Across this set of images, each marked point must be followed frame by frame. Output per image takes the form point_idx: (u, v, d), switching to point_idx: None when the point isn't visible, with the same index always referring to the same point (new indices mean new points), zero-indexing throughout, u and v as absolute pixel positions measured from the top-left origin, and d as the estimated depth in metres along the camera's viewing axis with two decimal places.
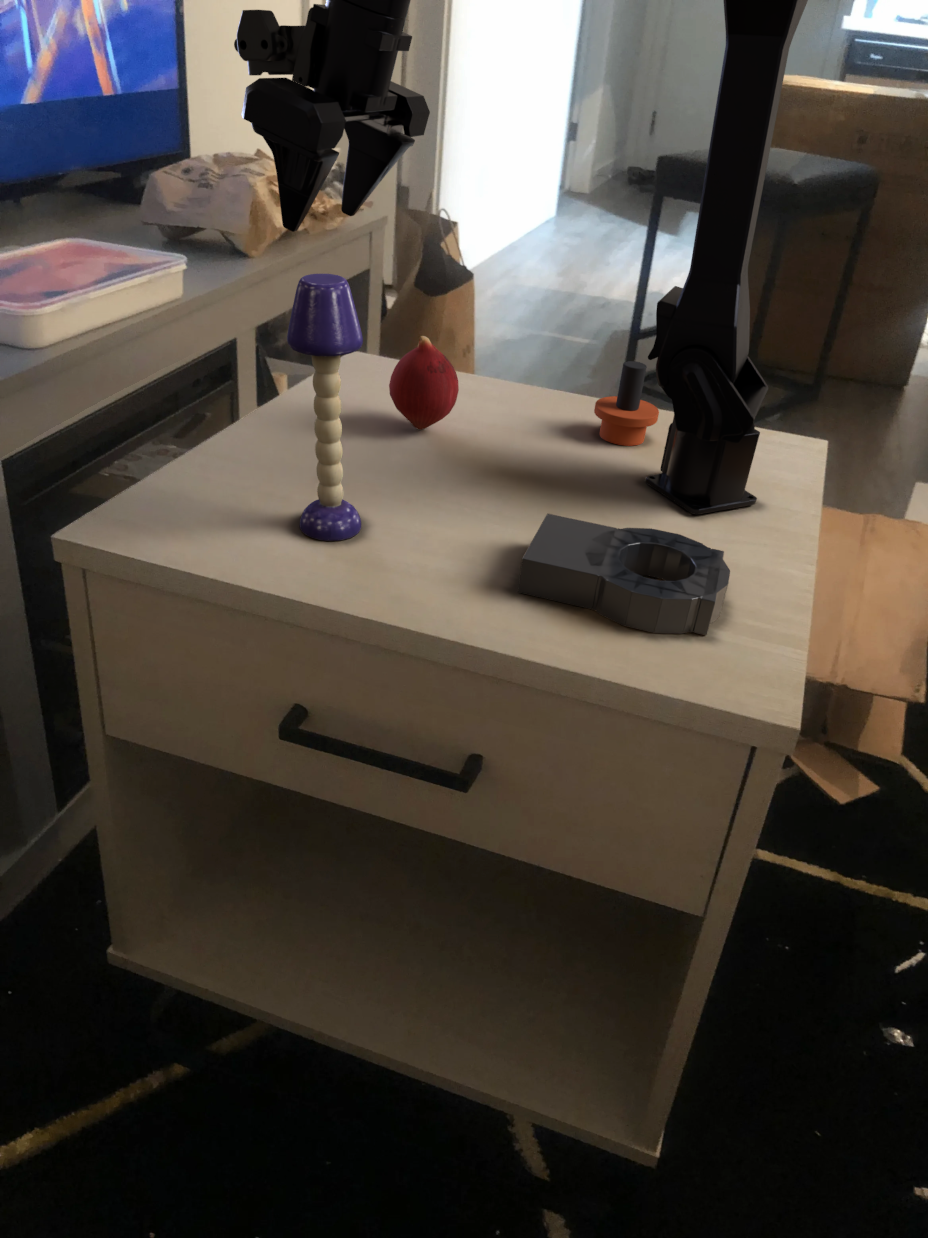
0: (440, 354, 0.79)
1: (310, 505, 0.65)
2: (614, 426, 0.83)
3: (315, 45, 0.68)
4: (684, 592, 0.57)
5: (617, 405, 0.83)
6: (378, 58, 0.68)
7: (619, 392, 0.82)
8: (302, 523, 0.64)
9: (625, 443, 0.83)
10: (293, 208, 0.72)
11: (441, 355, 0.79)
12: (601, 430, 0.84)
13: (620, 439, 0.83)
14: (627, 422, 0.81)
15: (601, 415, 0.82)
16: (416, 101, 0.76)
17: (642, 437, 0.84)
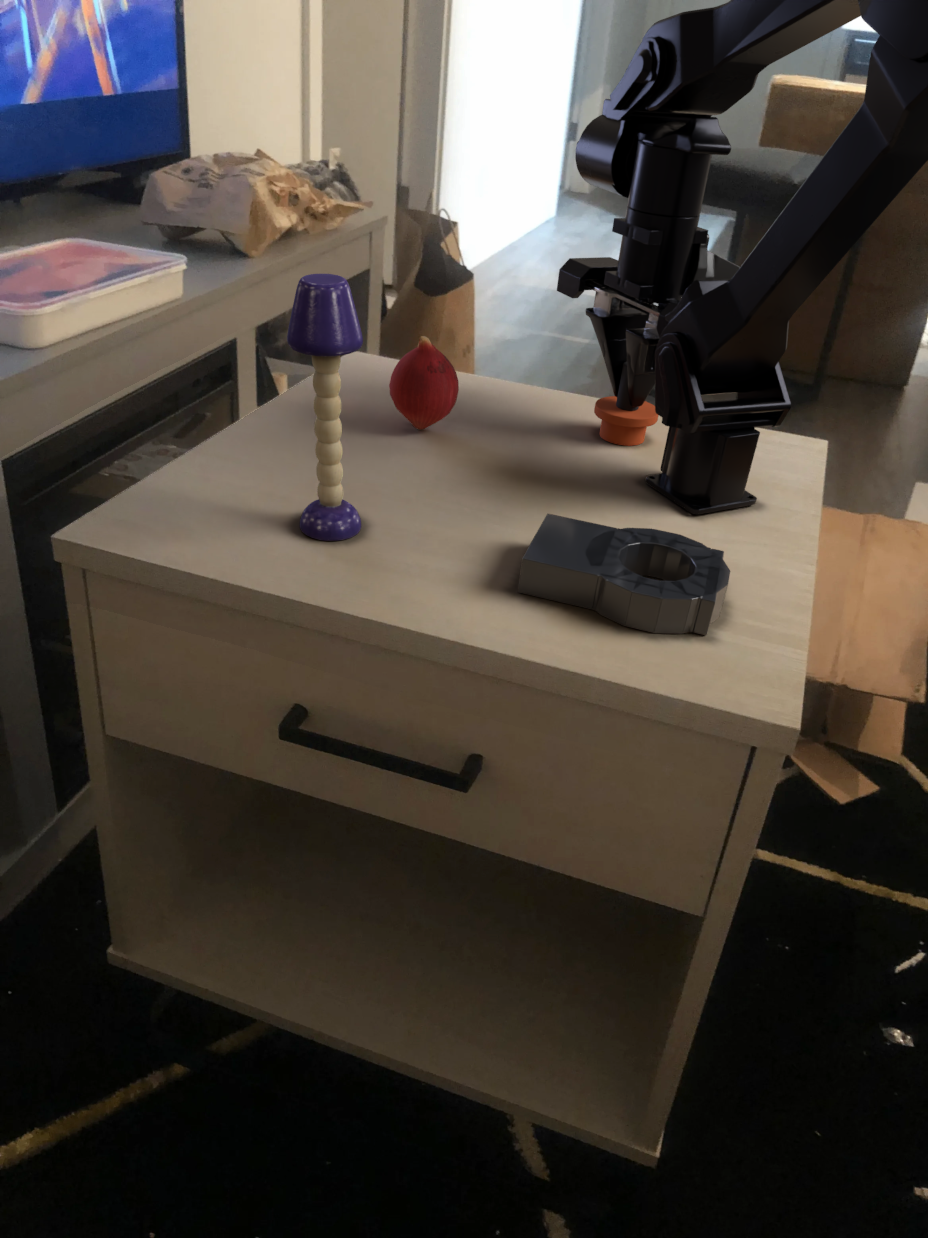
0: (440, 354, 0.79)
1: (310, 505, 0.65)
2: (614, 426, 0.83)
3: None
4: (684, 592, 0.57)
5: (617, 405, 0.83)
6: (621, 242, 0.76)
7: (619, 392, 0.82)
8: (302, 523, 0.64)
9: (625, 442, 0.83)
10: None
11: (441, 355, 0.79)
12: (601, 430, 0.84)
13: (620, 439, 0.83)
14: (627, 422, 0.81)
15: (601, 415, 0.82)
16: None
17: (642, 437, 0.84)
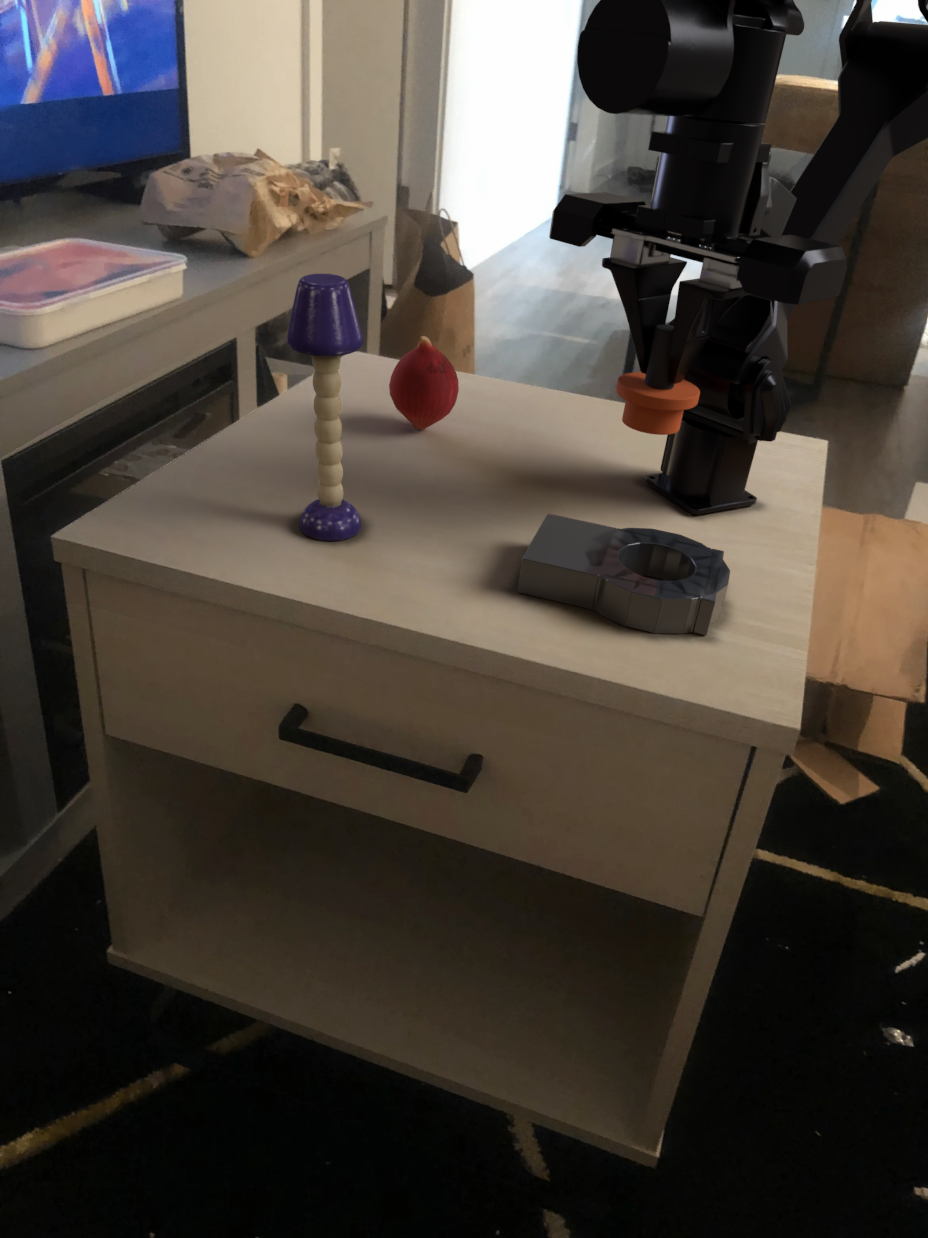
0: (440, 354, 0.79)
1: (310, 505, 0.65)
2: (651, 412, 0.63)
3: None
4: (684, 592, 0.57)
5: (648, 383, 0.64)
6: (663, 164, 0.57)
7: (651, 366, 0.63)
8: (302, 523, 0.64)
9: (664, 431, 0.64)
10: None
11: (441, 355, 0.79)
12: (628, 418, 0.65)
13: (658, 427, 0.64)
14: (672, 405, 0.62)
15: (635, 398, 0.63)
16: (774, 250, 0.53)
17: (680, 422, 0.65)
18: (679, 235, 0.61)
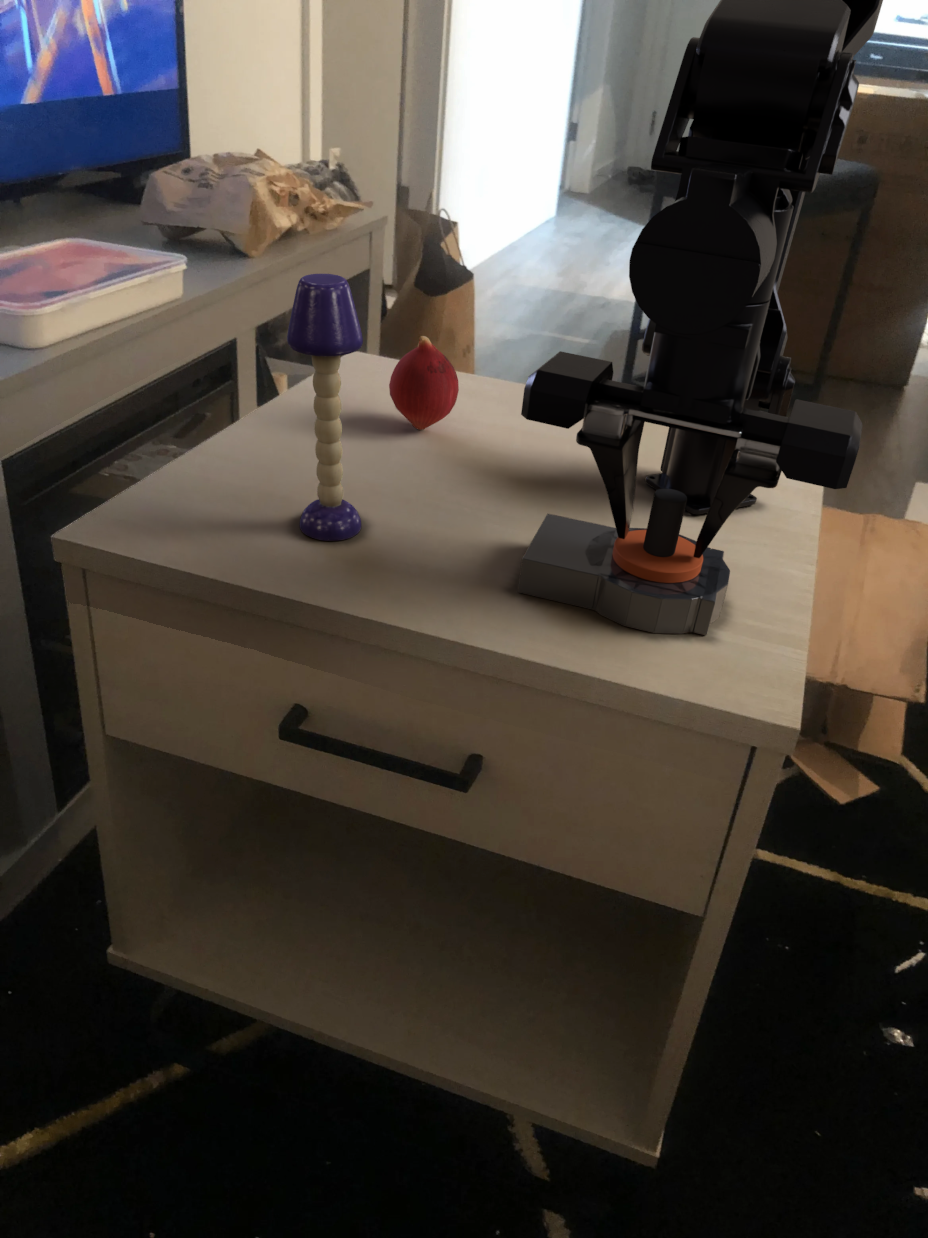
0: (440, 354, 0.79)
1: (310, 505, 0.65)
2: None
3: None
4: (684, 592, 0.57)
5: (653, 553, 0.59)
6: (671, 345, 0.51)
7: (655, 536, 0.58)
8: (302, 523, 0.64)
9: None
10: None
11: (441, 355, 0.79)
12: None
13: None
14: (688, 576, 0.58)
15: (650, 576, 0.58)
16: (815, 435, 0.50)
17: None
18: None
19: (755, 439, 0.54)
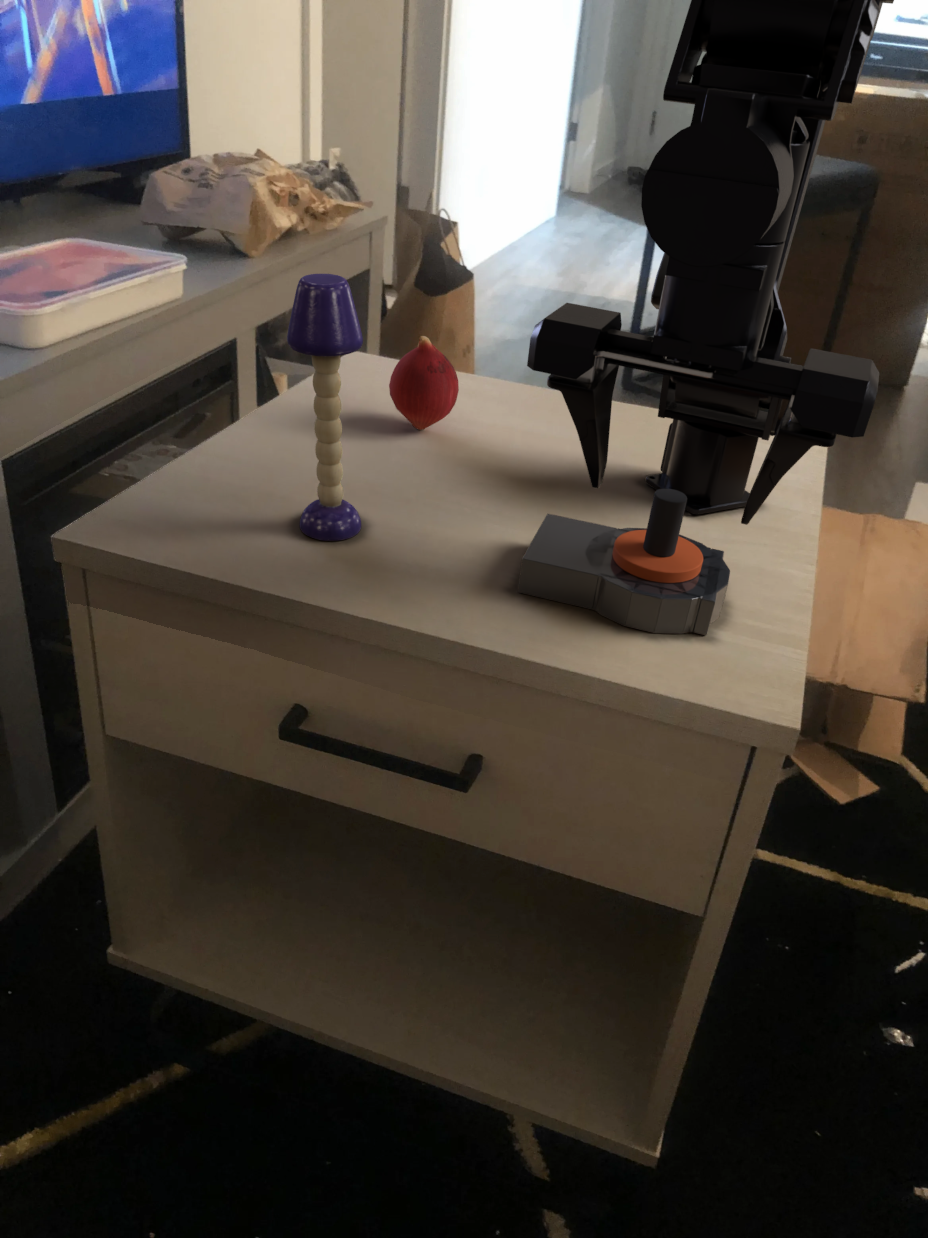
0: (440, 354, 0.79)
1: (310, 505, 0.65)
2: None
3: None
4: (684, 592, 0.57)
5: (653, 553, 0.59)
6: (683, 289, 0.49)
7: (655, 536, 0.58)
8: (302, 523, 0.64)
9: None
10: None
11: (441, 355, 0.79)
12: None
13: None
14: (688, 576, 0.58)
15: (650, 576, 0.58)
16: (832, 381, 0.49)
17: None
18: None
19: None
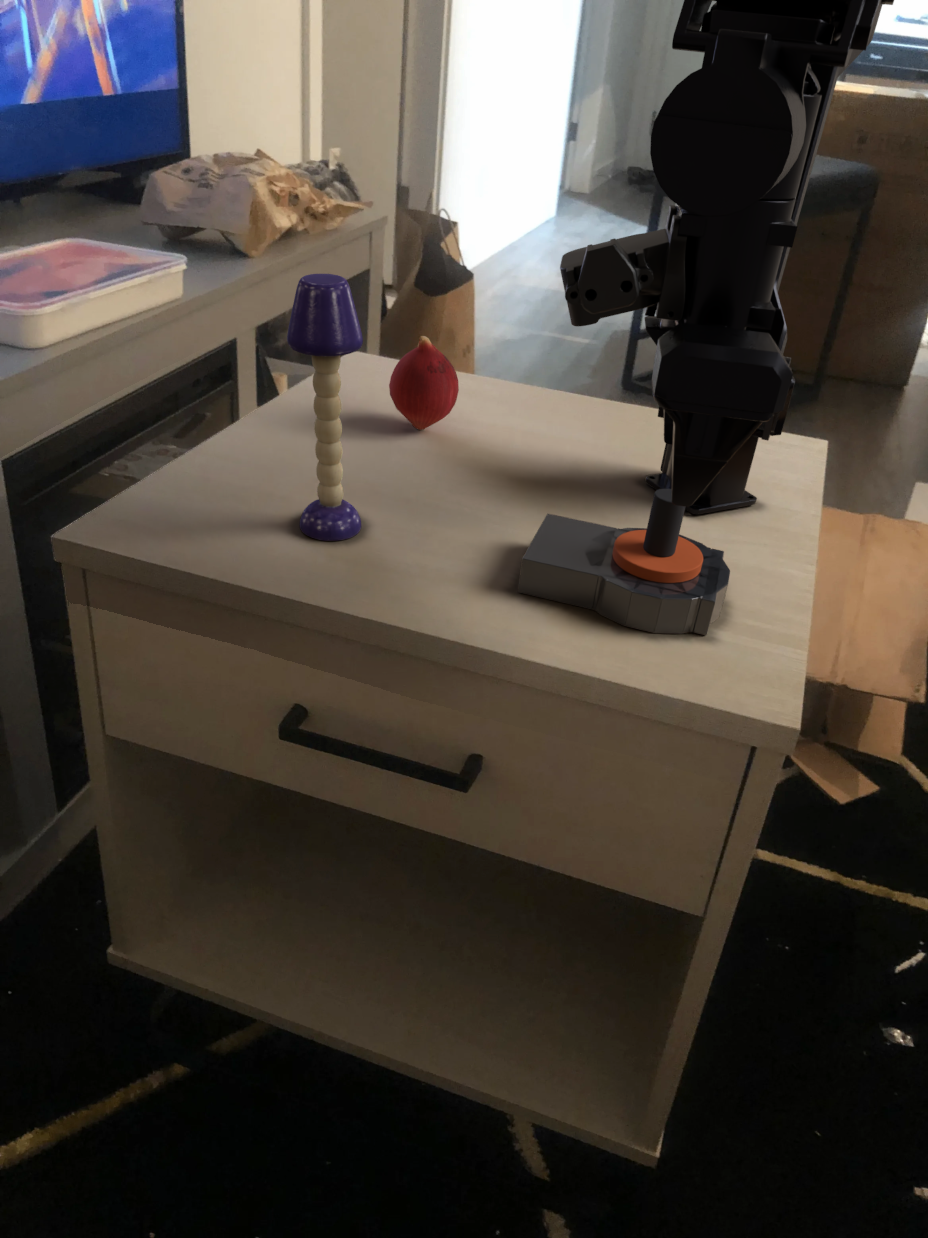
0: (440, 354, 0.79)
1: (310, 505, 0.65)
2: None
3: None
4: (684, 592, 0.57)
5: (653, 553, 0.59)
6: (778, 256, 0.49)
7: (655, 536, 0.58)
8: (302, 523, 0.64)
9: None
10: (695, 480, 0.51)
11: (441, 355, 0.79)
12: None
13: None
14: (688, 576, 0.58)
15: (650, 576, 0.58)
16: None
17: None
18: None
19: None
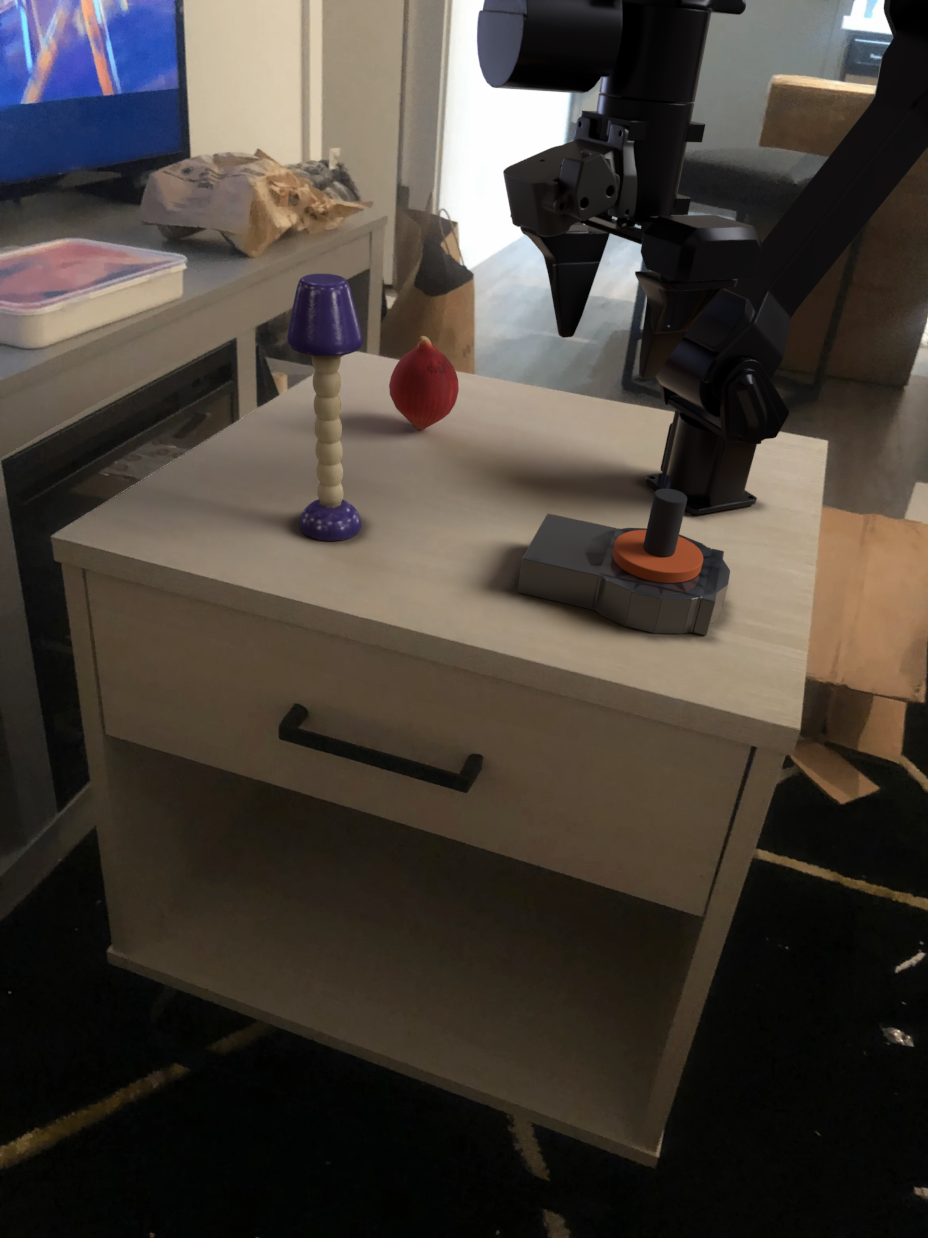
0: (440, 354, 0.79)
1: (310, 505, 0.65)
2: None
3: None
4: (684, 592, 0.57)
5: (653, 553, 0.59)
6: None
7: (655, 536, 0.58)
8: (302, 523, 0.64)
9: None
10: (663, 352, 0.60)
11: (441, 355, 0.79)
12: None
13: None
14: (688, 576, 0.58)
15: (650, 576, 0.58)
16: None
17: None
18: None
19: None
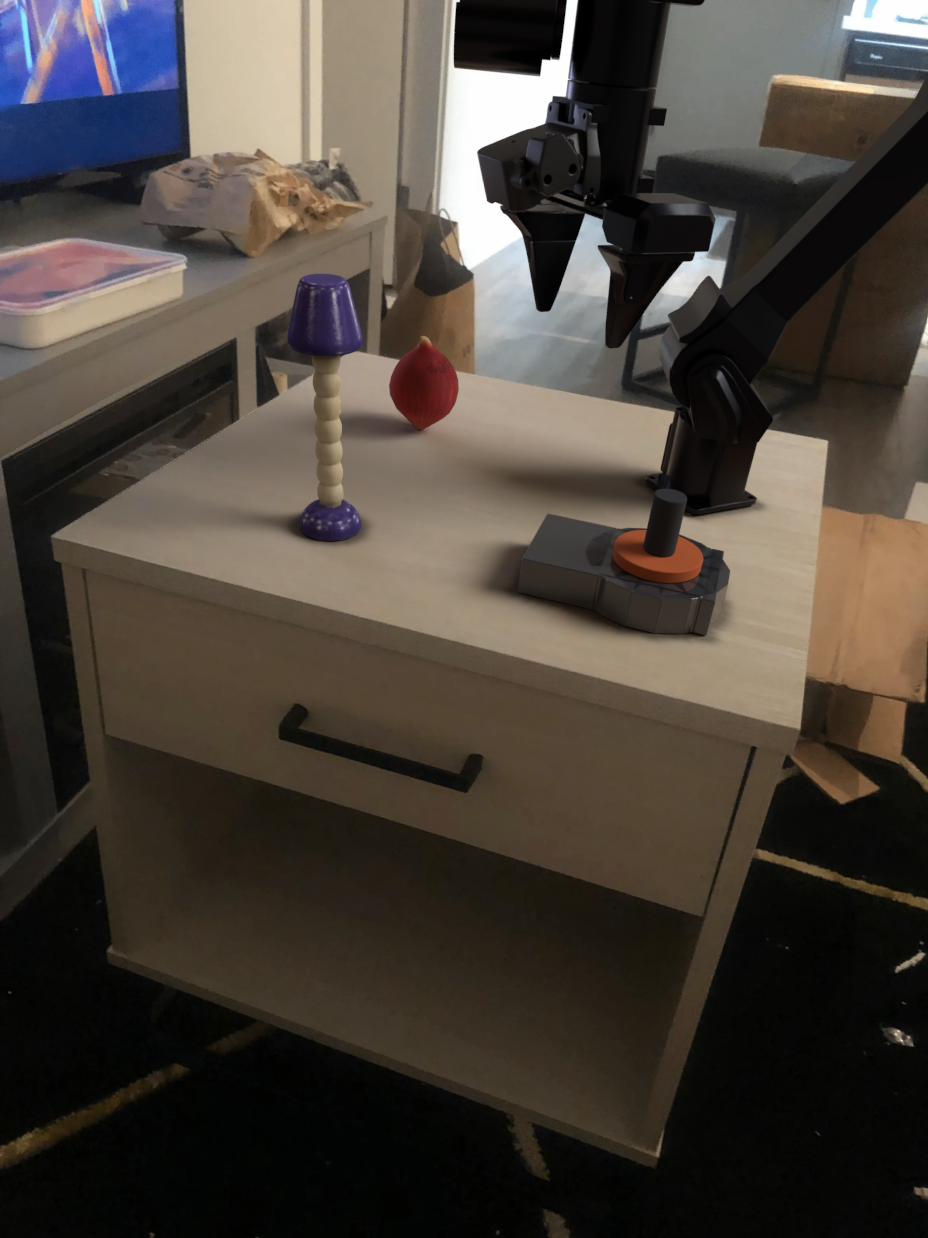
0: (440, 354, 0.79)
1: (310, 505, 0.65)
2: None
3: None
4: (684, 592, 0.57)
5: (653, 553, 0.59)
6: None
7: (655, 536, 0.58)
8: (302, 523, 0.64)
9: None
10: (627, 323, 0.65)
11: (441, 355, 0.79)
12: None
13: None
14: (688, 576, 0.58)
15: (650, 576, 0.58)
16: None
17: None
18: (567, 194, 0.66)
19: None
